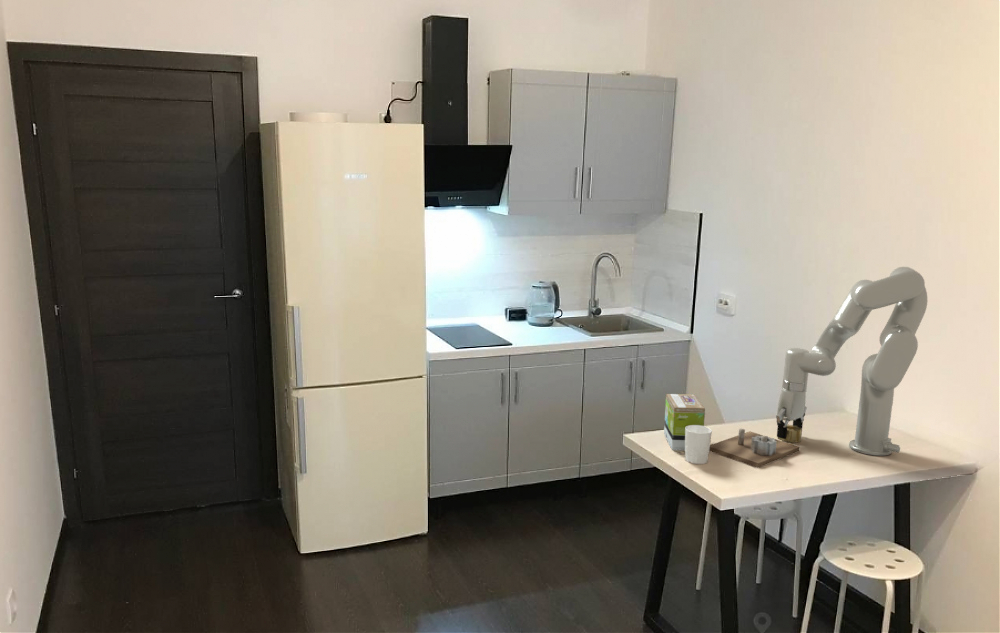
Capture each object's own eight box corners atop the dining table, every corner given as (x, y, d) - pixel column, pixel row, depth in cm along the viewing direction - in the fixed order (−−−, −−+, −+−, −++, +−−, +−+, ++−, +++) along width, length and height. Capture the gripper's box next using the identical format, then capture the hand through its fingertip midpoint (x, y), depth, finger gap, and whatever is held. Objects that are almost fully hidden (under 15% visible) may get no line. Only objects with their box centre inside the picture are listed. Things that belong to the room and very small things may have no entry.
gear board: (799, 451, 242) (801, 431, 241) (757, 467, 227) (759, 447, 226) (749, 435, 255) (751, 417, 254) (707, 450, 240) (708, 430, 239)
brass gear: (805, 440, 252) (806, 428, 252) (793, 444, 248) (794, 432, 247) (784, 433, 258) (786, 422, 257) (773, 438, 253) (774, 426, 253)
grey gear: (777, 450, 238) (778, 438, 237) (773, 457, 231) (774, 445, 230) (752, 445, 241) (754, 433, 240) (748, 452, 235) (749, 440, 234)
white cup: (695, 466, 227) (697, 434, 225) (677, 457, 233) (679, 426, 232) (714, 462, 230) (717, 431, 228) (697, 454, 237) (699, 423, 235)
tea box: (662, 434, 254) (665, 392, 251) (692, 435, 254) (695, 393, 251) (671, 450, 239) (674, 406, 236) (703, 452, 239) (706, 407, 236)
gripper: (797, 379, 258) (792, 427, 261) (770, 387, 247) (765, 436, 250) (818, 384, 252) (812, 433, 255) (791, 392, 241) (785, 443, 244)
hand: (789, 434), depth 253 cm, fingers open, 9 cm apart
